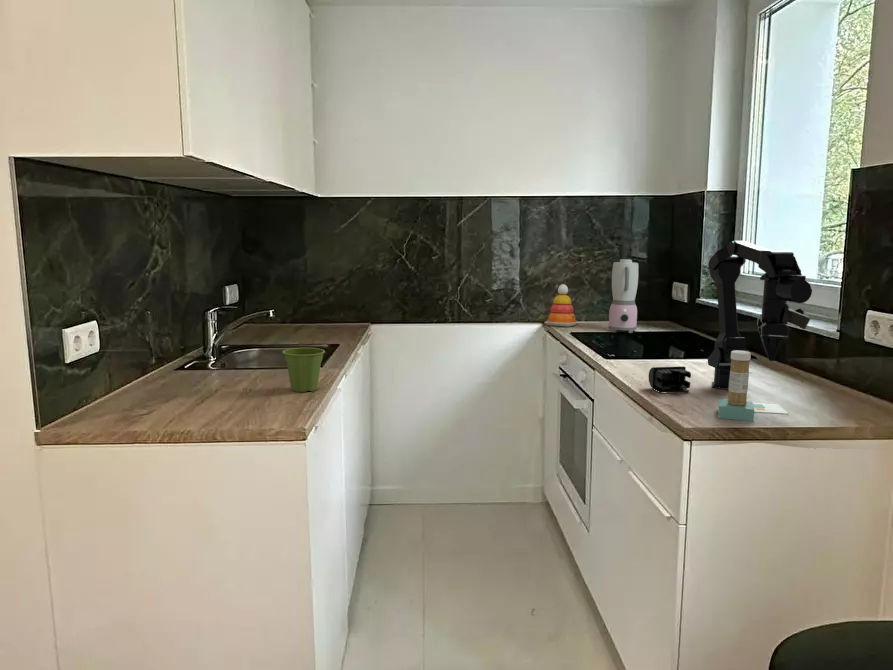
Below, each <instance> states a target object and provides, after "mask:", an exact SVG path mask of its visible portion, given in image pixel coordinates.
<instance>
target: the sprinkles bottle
mask: <svg viewBox="0 0 893 670" xmlns="http://www.w3.org/2000/svg"><path fill="white" fill-rule="evenodd" d="M751 354H752V353H751V352H750V351H748V350H747V351H740V350H735V351H732V352H731V369H730V378H729V389H728V398H727V400H728V403H729V404H732V405H737V406H744V405H746V404H747V402H746V401H747V396H748V390H749V377H750V362H751V358H752V357H751V356H752V355H751Z"/></svg>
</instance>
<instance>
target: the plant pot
mask: <svg viewBox="0 0 893 670" xmlns="http://www.w3.org/2000/svg"><path fill="white" fill-rule="evenodd" d="M325 353H326V351H325V349H321V348H317V347H293V348H292V347H291V348H288V349H284V350H282V354H283V355H284V359H285V362H286V367H287V371H288V377H289V383H290V388H291V389H290V390H292V391H293V392H297V393H305V392H308V391H310V392H314V391H316V390H317V389H318V385H319V378H320V372H321V365H322V361H323V356H324V354H325Z"/></svg>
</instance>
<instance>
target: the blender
mask: <svg viewBox="0 0 893 670" xmlns="http://www.w3.org/2000/svg"><path fill="white" fill-rule="evenodd" d="M611 272H612V273H611V292H612V298H613V299H612V302H611V305H610V307H609V310H608V311H609V312H608V313H609V315H608V329H610V330H611V333H617V331H627V333H628V334H632V333H634V331H635V330H637V322H638V306H637V305H636V296H637V290H638V285H639V263H638V262H634V261H633V260H632V259H625V258H623V259H619V261H616V262H615V261H614V262H613V263H612V271H611Z"/></svg>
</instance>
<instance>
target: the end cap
mask: <svg viewBox="0 0 893 670" xmlns="http://www.w3.org/2000/svg"><path fill="white" fill-rule="evenodd" d="M691 377H692V373H691V372H690V371H688V370H686V366H659V367H657V366H655V367H654V366H653V367H651V368H650V369H649V371H648V383H649V385H650V387H651V388H652V389H653V388H654V389H655V390H657V391H659V392H686V393H690V390H689V389H690V388H691V382H690V381H688V380H687V379H686V378H688V379H691ZM655 390H654V391H655ZM657 391H656V392H657ZM659 392H658V393H659Z"/></svg>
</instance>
